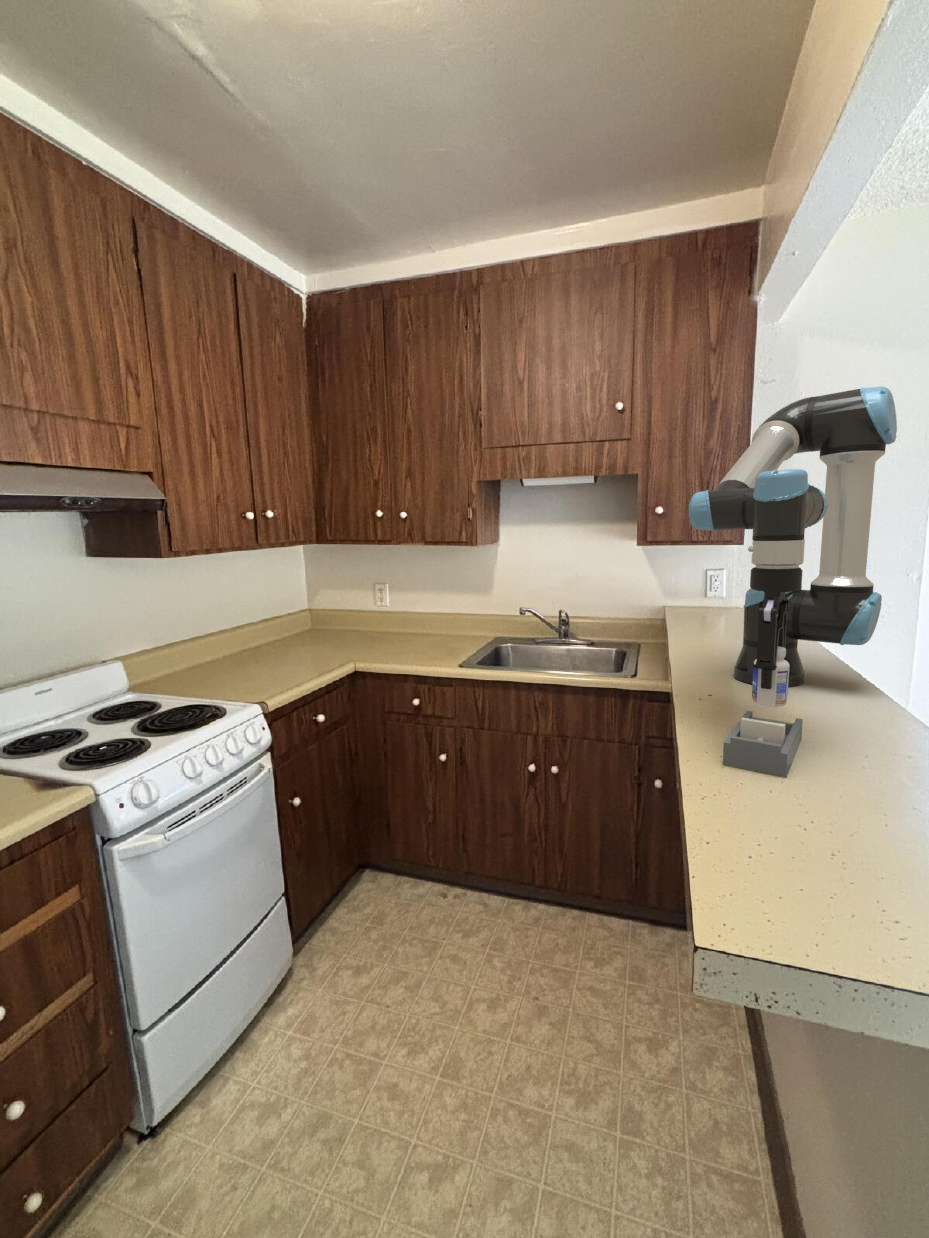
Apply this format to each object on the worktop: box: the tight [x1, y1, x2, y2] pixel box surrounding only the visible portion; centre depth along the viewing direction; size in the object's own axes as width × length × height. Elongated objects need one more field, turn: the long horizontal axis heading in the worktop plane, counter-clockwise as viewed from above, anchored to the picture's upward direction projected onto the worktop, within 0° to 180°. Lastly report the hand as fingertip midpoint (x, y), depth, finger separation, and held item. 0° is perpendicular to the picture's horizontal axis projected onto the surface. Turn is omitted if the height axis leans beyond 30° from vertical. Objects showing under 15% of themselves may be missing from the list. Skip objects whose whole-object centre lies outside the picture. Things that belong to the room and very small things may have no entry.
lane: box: [722, 710, 804, 778], centre depth 95 cm, size 18×9×5 cm, turn 143°
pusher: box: [740, 716, 785, 749], centre depth 92 cm, size 5×6×5 cm
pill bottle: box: [751, 646, 789, 708], centre depth 96 cm, size 5×5×10 cm
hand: (769, 701), depth 97 cm, fingers closed on pill bottle, 5 cm apart
